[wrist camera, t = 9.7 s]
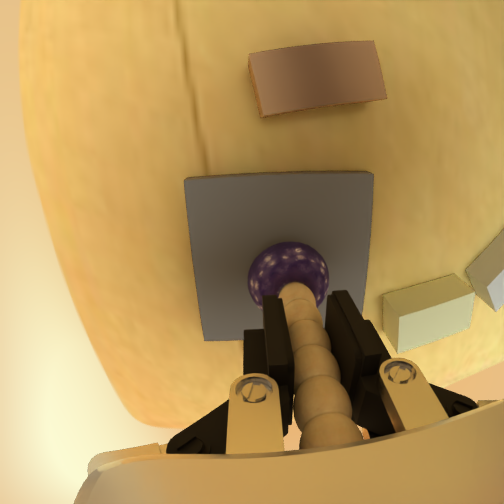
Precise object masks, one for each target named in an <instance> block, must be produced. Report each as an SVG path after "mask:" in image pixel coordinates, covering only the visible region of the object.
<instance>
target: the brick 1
mask: <svg viewBox="0 0 504 504" xmlns="http://www.w3.org/2000/svg"><path fill="white" fill-rule="evenodd" d="M248 67H249V71H250V75H251V79H252V83H253V87H254V92H255V96H256V100H257V104H258V109H259V113H260V117H261V118H263V117H268V116H273V115H279V114H284V113H290V112H296V111H302V110H308V109H315V108H322V107H329V106H336V105H344V104H353V103H362V102H370V101H376V100H382V99H387V95H386V90H385V85H384V81H383V76H382V72H381V68H380V63H379V59H378V55H377V51H376V48H375V44H374V41H350V42H334V43H322V44H312V45H303V46H295V47H287V48H281V49H274V50H268V51H262V52H257V53H251V54H249V61H248Z"/></svg>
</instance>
